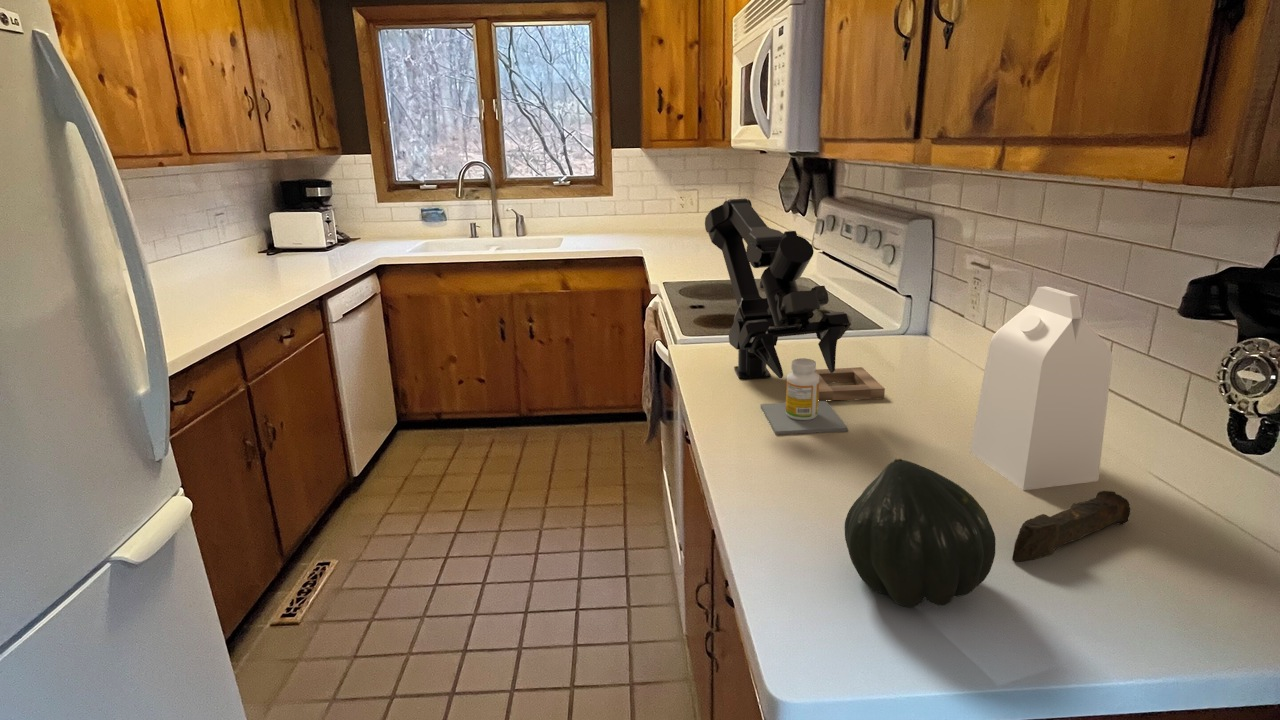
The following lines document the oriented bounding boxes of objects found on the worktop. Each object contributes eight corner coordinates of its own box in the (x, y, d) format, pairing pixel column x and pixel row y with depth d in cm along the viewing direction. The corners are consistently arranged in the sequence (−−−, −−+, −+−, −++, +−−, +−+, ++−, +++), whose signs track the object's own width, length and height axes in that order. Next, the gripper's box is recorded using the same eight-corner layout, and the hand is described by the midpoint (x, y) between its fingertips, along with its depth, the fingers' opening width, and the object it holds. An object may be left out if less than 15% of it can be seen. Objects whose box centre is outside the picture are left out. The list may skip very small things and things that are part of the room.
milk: (1098, 480, 96) (1133, 297, 88) (1022, 490, 95) (1051, 304, 86) (1037, 444, 108) (1063, 279, 99) (969, 452, 106) (989, 285, 98)
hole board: (801, 379, 138) (802, 370, 138) (861, 376, 139) (862, 367, 138) (819, 402, 127) (819, 391, 126) (883, 398, 127) (884, 388, 127)
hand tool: (1096, 512, 89) (1102, 480, 88) (1128, 527, 86) (1135, 494, 84) (991, 552, 82) (996, 518, 81) (1022, 570, 79) (1027, 535, 77)
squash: (1039, 592, 66) (990, 441, 72) (886, 611, 65) (849, 456, 71) (972, 603, 79) (935, 474, 85) (843, 618, 78) (815, 487, 84)
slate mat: (760, 407, 126) (760, 404, 126) (826, 403, 126) (826, 400, 126) (775, 434, 114) (775, 431, 114) (847, 431, 115) (847, 427, 115)
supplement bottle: (800, 406, 124) (802, 354, 121) (824, 415, 120) (827, 362, 116) (779, 414, 121) (780, 361, 118) (802, 423, 117) (804, 369, 114)
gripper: (744, 274, 114) (768, 358, 107) (849, 265, 118) (878, 346, 111) (728, 309, 124) (749, 388, 117) (825, 300, 127) (851, 376, 121)
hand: (807, 374), depth 116 cm, fingers open, 9 cm apart
